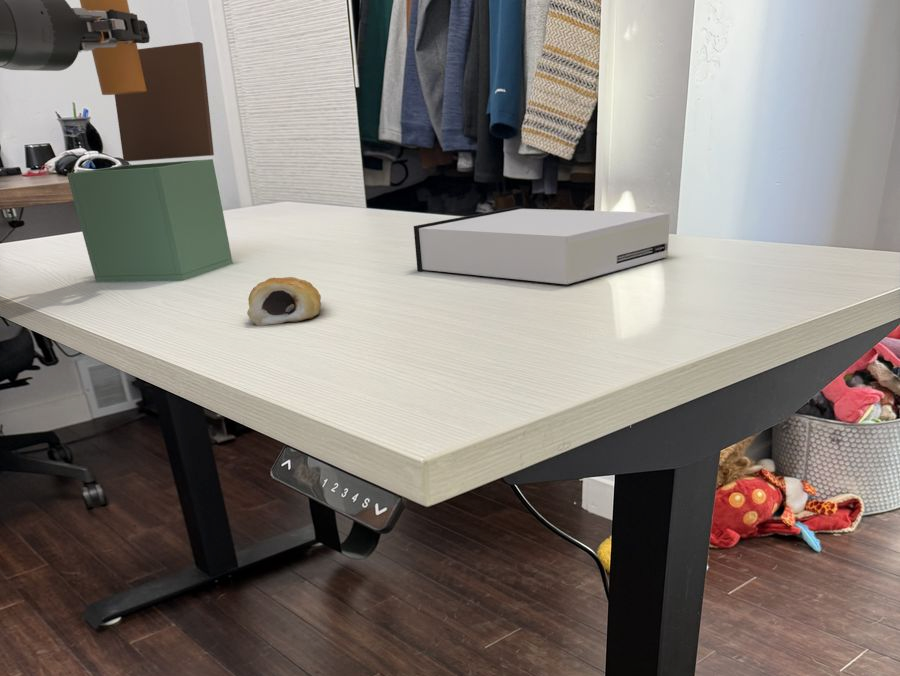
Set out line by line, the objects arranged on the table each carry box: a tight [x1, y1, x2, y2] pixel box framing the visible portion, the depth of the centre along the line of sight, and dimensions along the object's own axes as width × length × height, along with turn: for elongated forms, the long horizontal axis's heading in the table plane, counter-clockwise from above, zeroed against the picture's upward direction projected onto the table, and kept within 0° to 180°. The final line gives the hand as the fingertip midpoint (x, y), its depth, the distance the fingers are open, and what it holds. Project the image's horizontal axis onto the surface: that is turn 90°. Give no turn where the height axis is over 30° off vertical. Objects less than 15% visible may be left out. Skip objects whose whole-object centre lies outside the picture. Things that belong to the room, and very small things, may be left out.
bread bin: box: [66, 158, 234, 283], centre depth 111 cm, size 12×14×13 cm
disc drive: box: [413, 205, 671, 285], centre depth 96 cm, size 18×22×5 cm
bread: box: [79, 0, 147, 96], centre depth 101 cm, size 5×5×11 cm
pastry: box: [246, 276, 322, 326], centre depth 83 cm, size 9×7×4 cm
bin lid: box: [114, 41, 215, 163], centre depth 110 cm, size 12×14×1 cm
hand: (125, 34), depth 103 cm, fingers closed on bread, 5 cm apart
